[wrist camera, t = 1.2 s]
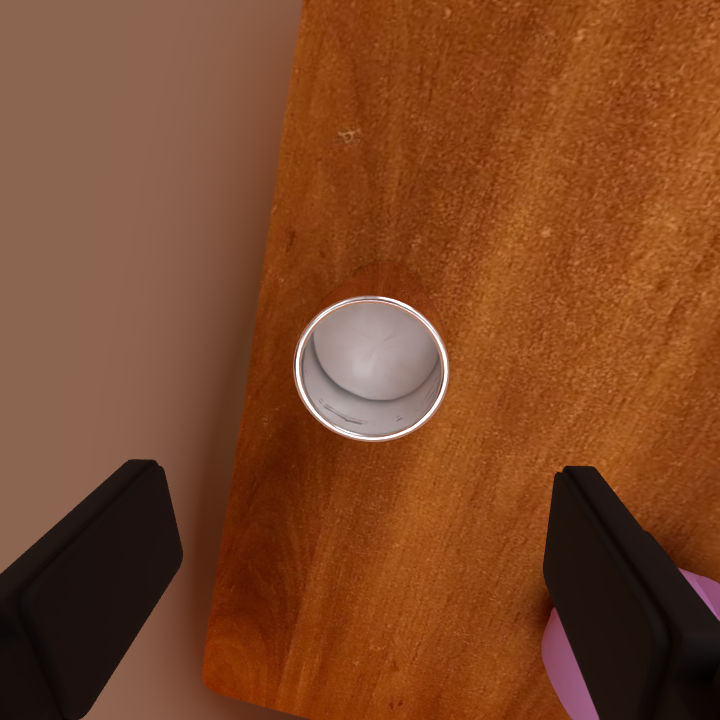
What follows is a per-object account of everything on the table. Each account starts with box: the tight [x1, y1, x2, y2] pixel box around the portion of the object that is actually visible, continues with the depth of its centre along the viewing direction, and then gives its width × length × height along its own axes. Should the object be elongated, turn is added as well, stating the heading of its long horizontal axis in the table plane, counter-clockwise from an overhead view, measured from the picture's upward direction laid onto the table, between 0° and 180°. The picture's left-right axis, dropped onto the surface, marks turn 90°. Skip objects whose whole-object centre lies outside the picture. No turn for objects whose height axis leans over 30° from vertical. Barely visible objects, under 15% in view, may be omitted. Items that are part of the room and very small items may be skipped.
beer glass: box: [293, 260, 450, 442], centre depth 24 cm, size 7×7×15 cm
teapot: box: [541, 568, 720, 720], centre depth 31 cm, size 20×20×15 cm
